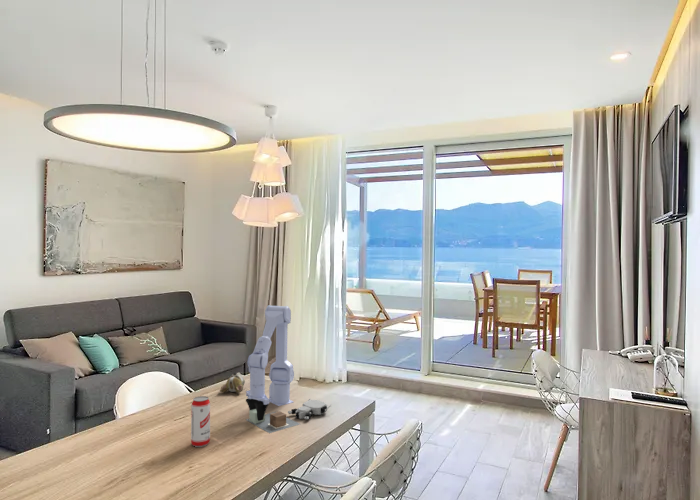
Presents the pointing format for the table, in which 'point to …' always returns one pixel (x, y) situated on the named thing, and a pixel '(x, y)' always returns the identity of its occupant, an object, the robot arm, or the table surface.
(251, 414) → the sage block
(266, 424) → the board
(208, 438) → the beer can
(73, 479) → the table surface
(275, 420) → the walnut block
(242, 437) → the table surface
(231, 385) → the ceramic sculpture
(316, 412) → the robot toy
